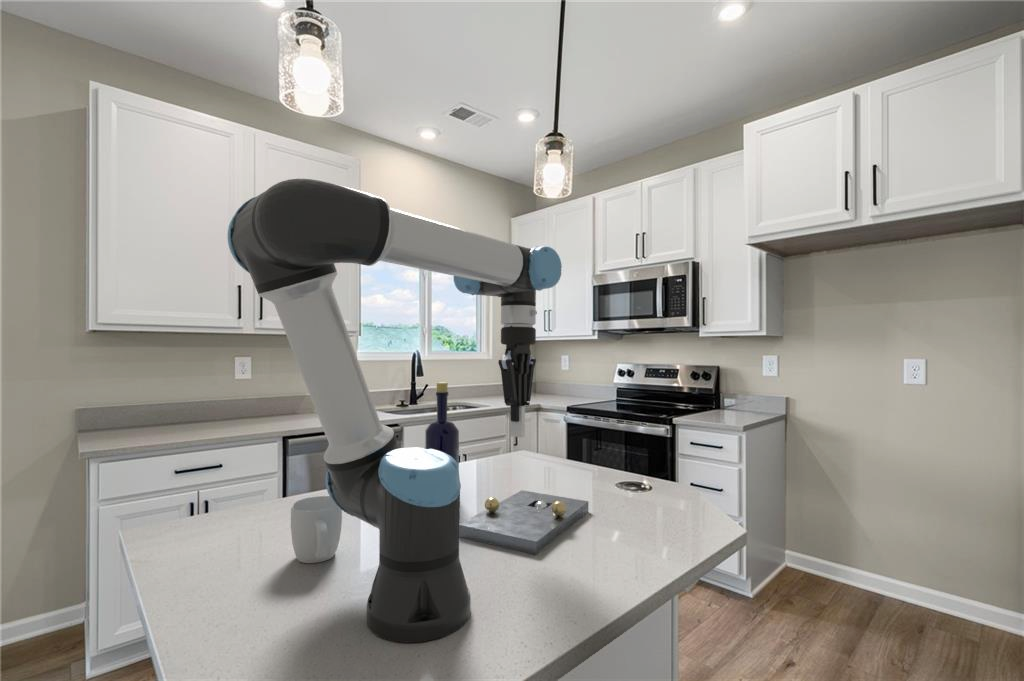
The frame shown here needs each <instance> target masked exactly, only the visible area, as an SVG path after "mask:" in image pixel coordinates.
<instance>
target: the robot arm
mask: <svg viewBox="0 0 1024 681" xmlns="http://www.w3.org/2000/svg"><path fill="white" fill-rule="evenodd" d="M227 244H228V248H229V251H230V253H231V255H232V257H233V259H234V260H235V262H236V263H237V264H238V265H239V267H241V268H242V269H243V270H244V271H245V272H247V273H248V274H250V277H251V279H252V282H253V285H254V287H255V290H256V292H257V295H258V297H261V298H263V299H265V300H266V301H269V302H271V303H272V304H274V305H273V306H274V307H275V310H276V313H277V315H278V317H279V320H280V323H281V325H282V327H283V330H284V333H285V335H286V338H287V341H288V343H289V346H290V348H291V351H292V354H293V356H294V358H295V361H296V363H297V366H298V369H299V371H300V373H301V376H302V378H303V381H304V384H305V386H306V389H307V392H308V393H309V397H310V399H311V401H312V404H313V406H314V410H315V412H316V415H317V417H318V419H319V421H320V424H321V427H322V429H323V432H324V435H325V437H326V440H327V442H328V446H327V448H326V449H325V452H324V454H323V460H324V462H325V466H326V468H327V470H326V472H325V479H324V480H325V488H326V491H327V494H328V496H330V497H331V499H332V500H333V502H334V503H335V504H336V505H337V506H338V507H339V508H340V509H341V510H342V512H344V513H346V514H348V515H350V516H352V517H355V518H358V519H359V520H361V521H362V522H365V523H367V524H369V525H370V526H373V527H374V528H377V529H378V530H379V539H378V540H379V542H378V543H379V544H378V546H379V548H378V549H379V553H378V554H379V558H378V560H379V563H378V567H377V570H376V572H375V576H374V580H373V583H372V586H371V590H370V593H369V596H368V598H367V602H366V610H365V611H366V613H365V614H366V616H365V617H366V618H365V620H366V625H367V627H368V629H369V630H370V631H371V632H372V633H374V635H376V636H378V637H379V638H382V639H384V640H388V641H392V642H396V643H398V642H399V643H422V642H427V641H429V642H430V641H433V640H437V639H440V638H443V637H445V636H448V635H450V634H452V633H454V632H455V631H457V630H458V629H460V628H461V627H462V626H464V624H466V622H467V621H468V619H469V617H470V615H471V603H472V602H471V599H472V598H471V592H470V589H469V587H468V584H467V581H466V578H465V574H464V571H463V567H462V563H461V560H460V537H459V524H460V517H461V516H460V514H461V513H460V512H461V511H460V509H461V507H460V506H461V505H460V504H461V488H462V484H461V480H460V467H459V468H458V465H457V462H456V461H455V460H454V459H453V458H452V457H451V456H450V455H448V454H446V453H444V452H441V451H439V450H435V449H425V447H421V446H420V447H418V446H417V447H416V446H415V447H414V446H413V447H411V446H410V447H400V446H399V443H398V439H397V438H396V435H395V432H394V429H393V428H392V427H390V426H387V425H385V424H383V423H381V420H380V418H379V415H378V413H377V410H376V407H375V404H374V400H373V398H372V396H371V393H370V390H369V387H368V384H367V383H366V382H367V381H366V378H365V376H364V372H363V371H362V368H361V365H360V362H359V359H358V357H357V354H356V351H355V347H354V345H353V342H352V340H351V336H350V334H349V332H348V328H347V325H346V323H345V320H344V317H343V315H342V312H341V309H340V306H339V302H338V300H337V299H336V298H337V297H336V295H335V292H334V289H333V283H334V281H335V279H336V277H337V275H338V271H337V268H336V265H335V264H340V263H341V264H357V265H363V266H369V267H371V266H374V265H376V264H377V263H378V262H385V263H389V264H394V265H399V266H404V267H410V268H414V269H419V270H424V271H430V272H434V273H439V274H443V275H448V276H453V277H452V278H453V283H454V286H455V288H456V289H457V291H458V292H461V293H463V294H468V295H471V296H488V297H498V298H500V325H502V327H501V329H500V343H501V344H502V345H505V351H504V358H500V359H498V365H499V369H500V373H501V382H502V390H503V400H504V404H505V406H507V407H509V406H510V428H509V429H510V432H509V433H510V435H509V436H510V437H514V438H524V437H525V436H526V435H525V433H526V428H525V427H526V406H530V405H531V404H530V403H531V396H532V388H533V380H534V371H535V366H536V363H537V358H536V357H534V358H533V357H531V347H530V346H531V345H533V346H534V345H535V344H536V343H537V338H536V336H537V334H536V333H537V329H536V327H534V325H535V324H536V323H537V322H536V321H537V320H536V319H537V318H536V317H537V316H536V315H537V314H538V311H537V309H536V305H537V296H536V295H537V291H538V292H539V291H543V290H546V289H547V290H548V289H551V288H553V287H555V286H556V285H557V284H558V283H559V281H560V280H561V277H562V266H563V265H562V262H561V258H560V255H559V254H558V252H557V251H556V250H555V249H554V248H552V247H550V246H538V245H537V246H534V247H533V248H532V247H530V248H529V247H524V246H521V245H517V244H513V243H509V242H506V241H503V240H500V239H496V238H493V237H489V236H486V235H482V234H479V233H476V232H474V231H473V232H472V231H468V230H467V229H462V228H459V227H456V226H452V225H449V224H445V223H442V222H438V221H435V220H432V219H428V218H425V217H422V216H419V215H416V214H415V215H414V214H412V213H408V212H406V211H405V212H404V211H402V210H399V209H394V208H391V207H390V206H389V204H388V201H386V200H385V198H382V196H381V197H380V196H377V195H374V194H371V193H368V192H364V191H361V190H357V189H354V188H350V187H347V186H344V185H343V186H342V185H340V184H337V183H331V182H327V181H324V180H317V179H311V178H290V179H286V180H282V181H280V182H277V183H275V184H273V185H271V186H270V187H269V188H267V189H266V190H264V191H263V192H262V193H260V194H258V195H256V196H254V197H252V198H250V199H248V200H247V201H245V202H244V203H243V204H242V205H241V206H240V207H239V208H238V209H237V210H236V212H235V213H234V215H233V216H232V218H231V220H230V223H229V224H228V229H227Z"/></svg>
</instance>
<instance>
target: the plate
mask: <svg viewBox="0 0 1024 681" xmlns="http://www.w3.org/2000/svg"><path fill="white" fill-rule="evenodd" d="M539 501H543V502H545V503H546V504H547V506H548V507H547V508H545V509H542V508H536V507H534V506H535V504H536V503H537V502H539ZM556 501H561V502H563V503H564V504H565V506H566V512H565V514H564V515H563V516H560V517H558V516H555V515H554V514H553V513H552V509H551V508H552V505H553V503H554V502H556ZM498 502H499V508H498V510H497V511H495V512H488V511H487V510H486V509H485V510H483V511H481V512H479V513H477V514H476V515H474V516H471V517H470V518H468V519H466V520H464V521H462V522H461V523H459V538H463V539H466V540H467V539H468V540H471V541H474V542H475V541H476V542H480V543H485V544H488V545H492V546H495V547H501V548H505V549H509V550H515V551H519V552H522V553H528V554H532V555H534V556H535V555H536V556H537V555H539V553H541V552H542V551H543V550H544V549H545V548H547V547H548V546H549V545H550V544H551V543H552V542H554V541H555V540H556V539H558V538H559V537H560V536H562V535H563V533H565V532H566V531H567V530H569V528H571V527H572V526H573V525H574V524H576V523H577V522H578V521H579V520H580V519H582V518H583V517H584V516H585V515H586V514H587V513H589V501H588V500H583V499H577V498H571V497H566V496H565V497H564V496H558V495H553V494H552V495H551V494H545V493H541V492H535V491H527V490H520V491H517V492H516V493H514V494H512V495H511V496H509V497H506V498H505V499H503V500H501V501H498Z"/></svg>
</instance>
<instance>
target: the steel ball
mask: <svg viewBox="0 0 1024 681" xmlns="http://www.w3.org/2000/svg"><path fill="white" fill-rule="evenodd" d="M534 507H536V508H542V509H545V508H547V507H548V506H547V504H546V503H545V502H543V501H539V502H537V503H536V504H535V506H534Z"/></svg>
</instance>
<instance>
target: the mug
mask: <svg viewBox="0 0 1024 681" xmlns="http://www.w3.org/2000/svg"><path fill="white" fill-rule="evenodd" d="M342 521H343V510H341V509H340V508H339V507H338V506H337V505H336V504H335V503H334V502H333V500H332V499H331V497H330V496H329V495H321V496H312V497H306V498H301V499H299V500H297V501H295V502H293V503H292V505H291V507H290V531H291V533H290V534H291V542H292V547H293V551H294V555H295V557H296V558H297V560H298V562H300V563H303V564H317V563H318V564H319V563H322V562H326V561H328V560H330V559H332V558H333V557H334V556H335V555H336V552H337V551H338V547H339V542H340V538H341V532H342V523H343V522H342Z"/></svg>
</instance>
